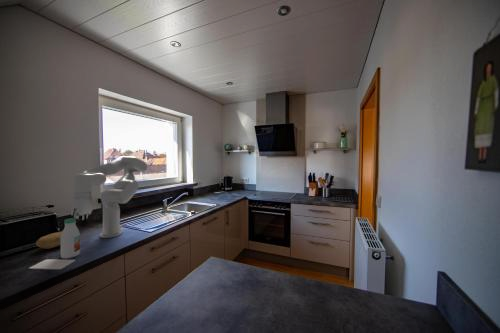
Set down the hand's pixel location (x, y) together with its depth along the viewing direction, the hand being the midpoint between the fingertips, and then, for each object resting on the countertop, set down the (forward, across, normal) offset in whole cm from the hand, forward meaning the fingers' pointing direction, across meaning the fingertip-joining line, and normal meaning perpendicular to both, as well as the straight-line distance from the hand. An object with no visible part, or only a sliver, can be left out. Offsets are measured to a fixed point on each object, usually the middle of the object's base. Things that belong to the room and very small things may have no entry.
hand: (82, 226), depth 113 cm
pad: (+13, +17, 0) cm, 22 cm away
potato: (+13, -1, -18) cm, 23 cm away
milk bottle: (+14, +8, 0) cm, 16 cm away
